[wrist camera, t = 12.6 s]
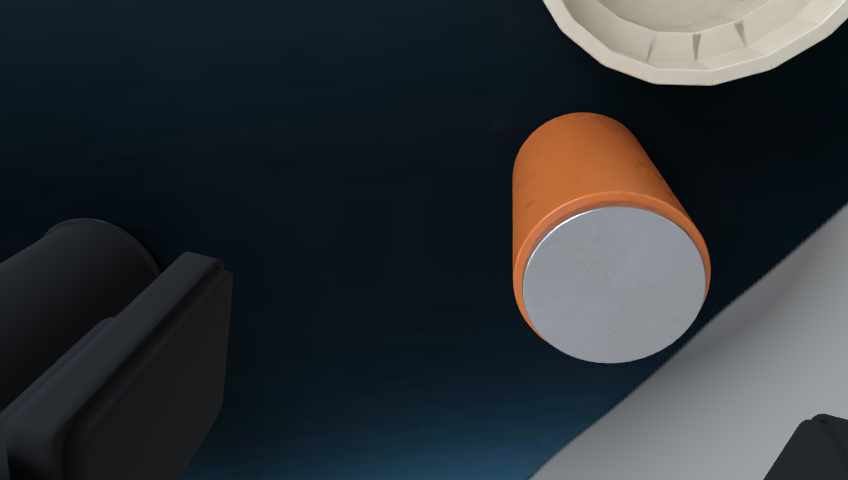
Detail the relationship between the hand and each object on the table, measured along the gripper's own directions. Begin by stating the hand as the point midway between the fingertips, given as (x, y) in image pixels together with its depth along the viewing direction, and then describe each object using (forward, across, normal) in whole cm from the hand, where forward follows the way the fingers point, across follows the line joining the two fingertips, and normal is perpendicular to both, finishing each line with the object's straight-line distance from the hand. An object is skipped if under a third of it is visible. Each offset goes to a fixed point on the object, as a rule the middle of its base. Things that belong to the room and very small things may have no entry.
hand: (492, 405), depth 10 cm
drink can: (+23, -5, +3) cm, 24 cm away
